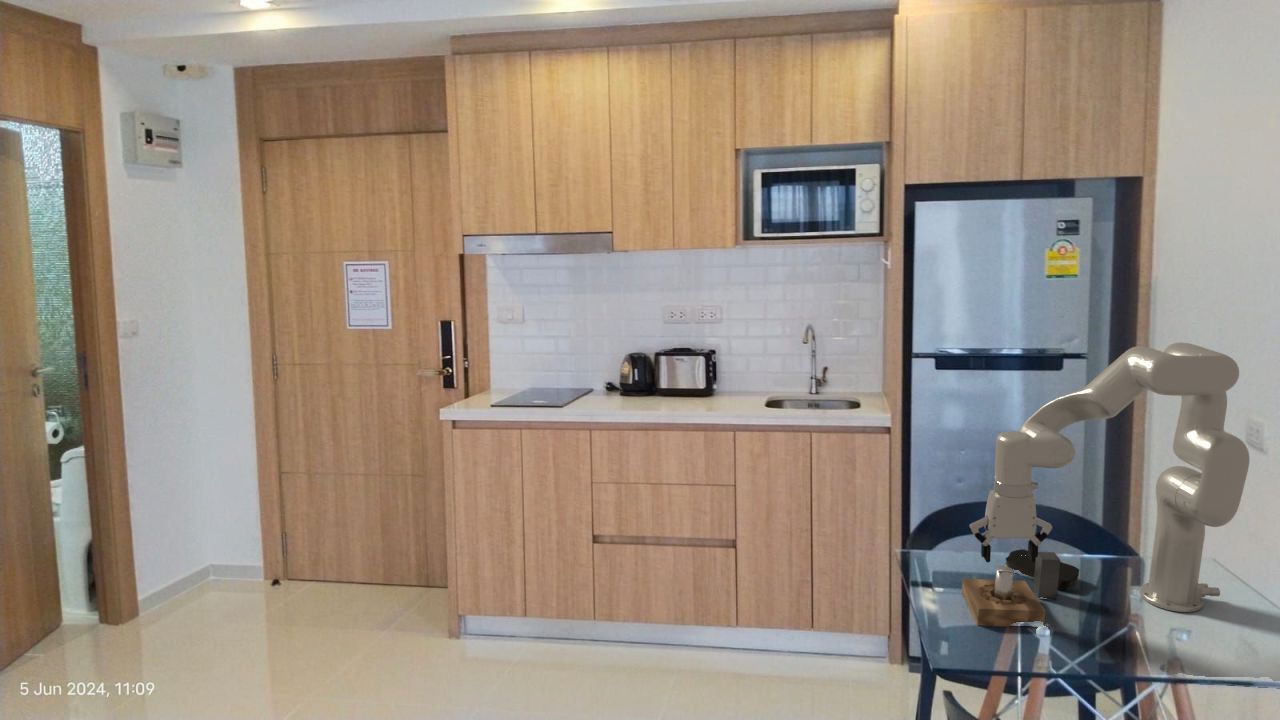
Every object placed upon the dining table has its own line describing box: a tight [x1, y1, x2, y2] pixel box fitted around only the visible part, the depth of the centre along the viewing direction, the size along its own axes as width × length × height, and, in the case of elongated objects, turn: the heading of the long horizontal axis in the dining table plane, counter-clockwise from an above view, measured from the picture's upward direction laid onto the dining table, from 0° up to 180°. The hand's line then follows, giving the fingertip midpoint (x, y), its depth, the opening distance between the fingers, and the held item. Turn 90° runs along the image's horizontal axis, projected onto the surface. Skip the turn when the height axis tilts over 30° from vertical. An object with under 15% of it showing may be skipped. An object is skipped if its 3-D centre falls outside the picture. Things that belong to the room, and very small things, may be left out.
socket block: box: [961, 578, 1046, 627], centre depth 202 cm, size 14×14×4 cm
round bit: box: [994, 565, 1015, 600], centre depth 201 cm, size 4×4×10 cm
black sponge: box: [1004, 549, 1080, 591], centre depth 218 cm, size 16×8×4 cm, turn 39°
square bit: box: [1032, 551, 1061, 601], centre depth 208 cm, size 4×4×10 cm
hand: (1008, 559), depth 200 cm, fingers open, 9 cm apart
